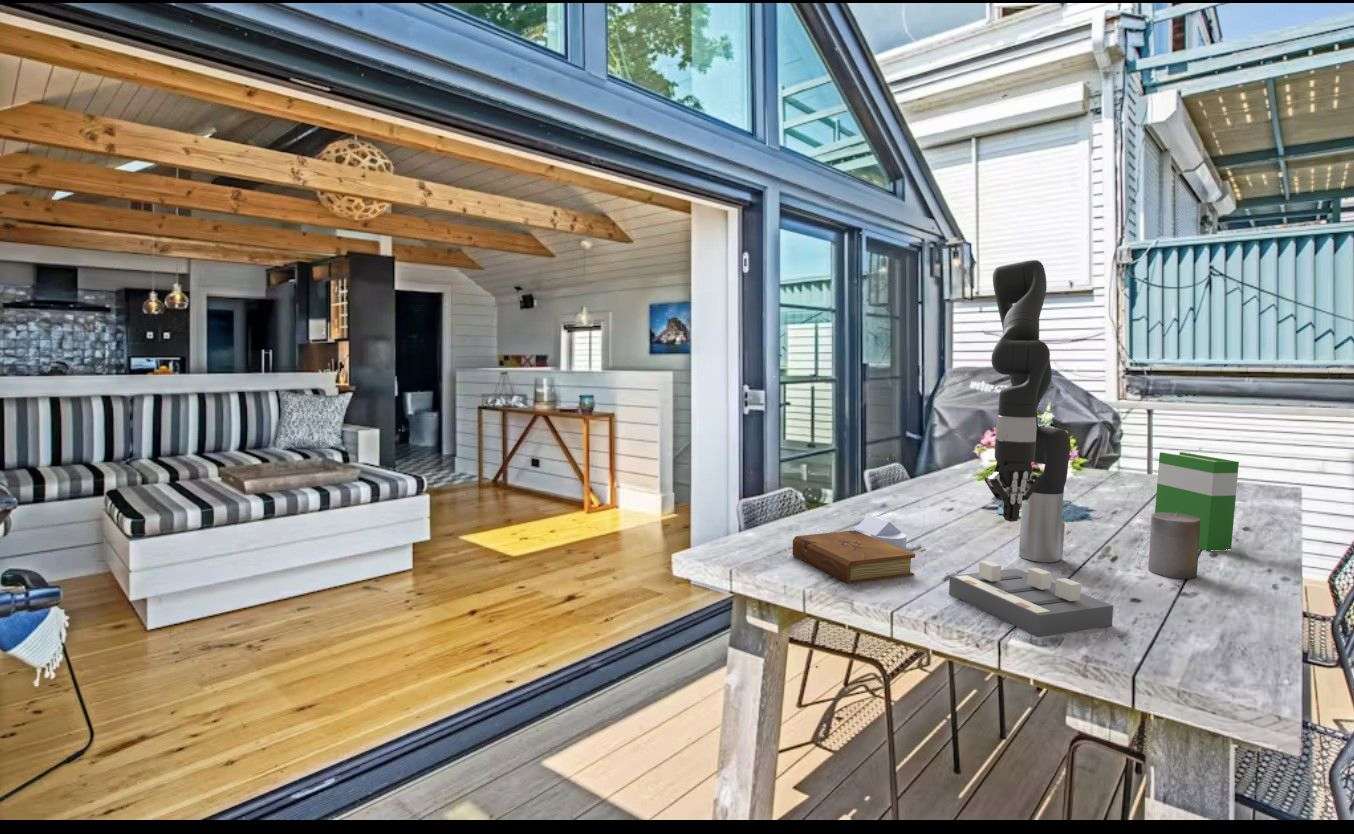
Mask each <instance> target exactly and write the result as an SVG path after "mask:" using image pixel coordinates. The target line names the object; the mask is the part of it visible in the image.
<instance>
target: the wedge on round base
mask: <svg viewBox="0 0 1354 834" xmlns="http://www.w3.org/2000/svg"><path fill="white" fill-rule="evenodd" d="M854 529H855V530H857V531H861V532H862V533H863V532H864V533H866V534H869V535H870V536H871V537H873V538H876V539H878V540H881V541H884V542H886V543H889V544H891V545H894V546H896V547H899V548H902V549H904V550H907V534H906V533H904V532H902V531H901V530H899V528H897V527H896V526H895V525H894V524H893V523H892V522H890V521H888V520H886V519H882V518H879V517H877V516H876V517H875V516H872V515H870V514H868V515H867V516H865V517H864V519H863V520H862V521H860V522H859V523H858V524H857V526H856V527H854Z"/></svg>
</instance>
